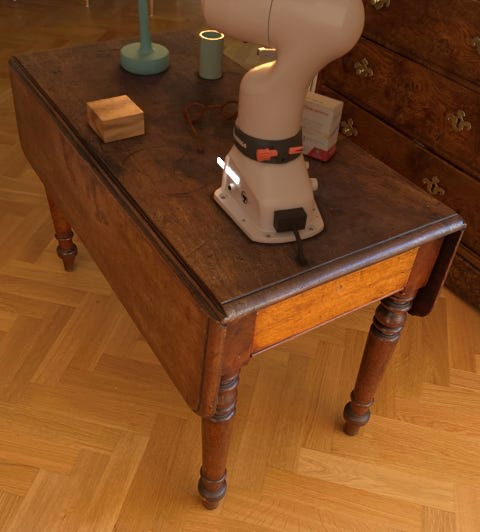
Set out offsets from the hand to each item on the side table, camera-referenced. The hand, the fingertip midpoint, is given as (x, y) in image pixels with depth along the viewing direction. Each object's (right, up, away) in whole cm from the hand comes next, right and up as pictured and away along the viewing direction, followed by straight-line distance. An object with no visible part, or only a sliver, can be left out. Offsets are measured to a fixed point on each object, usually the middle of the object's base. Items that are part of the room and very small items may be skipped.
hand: (250, 45), depth 153 cm
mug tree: (-27, -5, +2) cm, 27 cm away
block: (-29, -26, -24) cm, 46 cm away
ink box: (+13, -32, -25) cm, 42 cm away
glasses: (-7, -28, -22) cm, 36 cm away
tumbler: (-10, -7, +1) cm, 12 cm away
